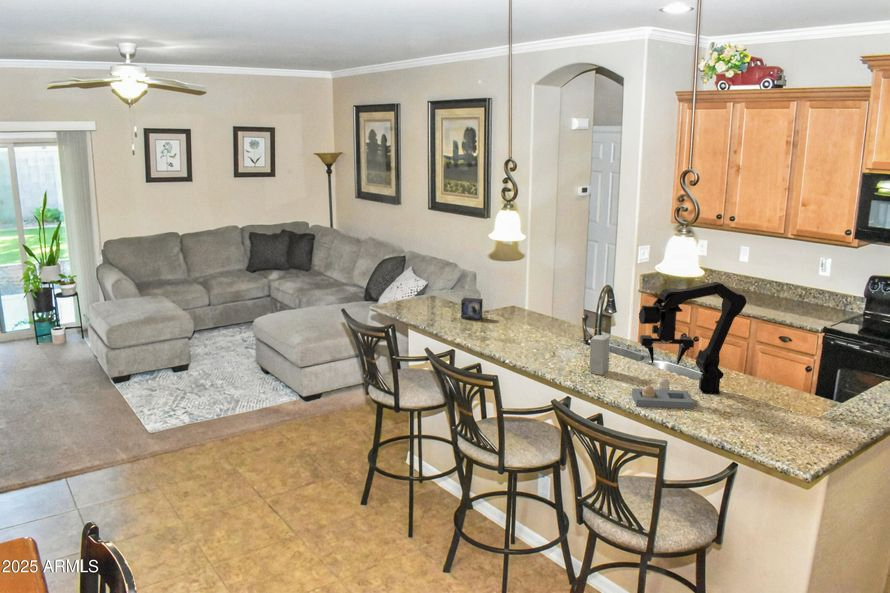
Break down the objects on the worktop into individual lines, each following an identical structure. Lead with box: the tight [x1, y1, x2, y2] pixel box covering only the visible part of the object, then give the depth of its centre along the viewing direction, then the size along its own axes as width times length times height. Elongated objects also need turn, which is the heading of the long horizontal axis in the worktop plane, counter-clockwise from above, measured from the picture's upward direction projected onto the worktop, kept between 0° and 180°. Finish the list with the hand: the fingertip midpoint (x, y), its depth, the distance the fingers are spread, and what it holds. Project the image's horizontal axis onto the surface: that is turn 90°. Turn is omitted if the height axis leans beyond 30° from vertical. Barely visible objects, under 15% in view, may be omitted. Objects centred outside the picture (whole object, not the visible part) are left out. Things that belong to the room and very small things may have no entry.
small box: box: [460, 297, 483, 321], centre depth 376 cm, size 11×6×10 cm, turn 73°
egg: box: [656, 377, 670, 390], centre depth 265 cm, size 4×4×6 cm
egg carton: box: [631, 385, 695, 410], centre depth 256 cm, size 20×12×6 cm, turn 83°
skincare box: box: [588, 334, 611, 376], centre depth 288 cm, size 8×6×15 cm
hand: (665, 363), depth 264 cm, fingers open, 9 cm apart
